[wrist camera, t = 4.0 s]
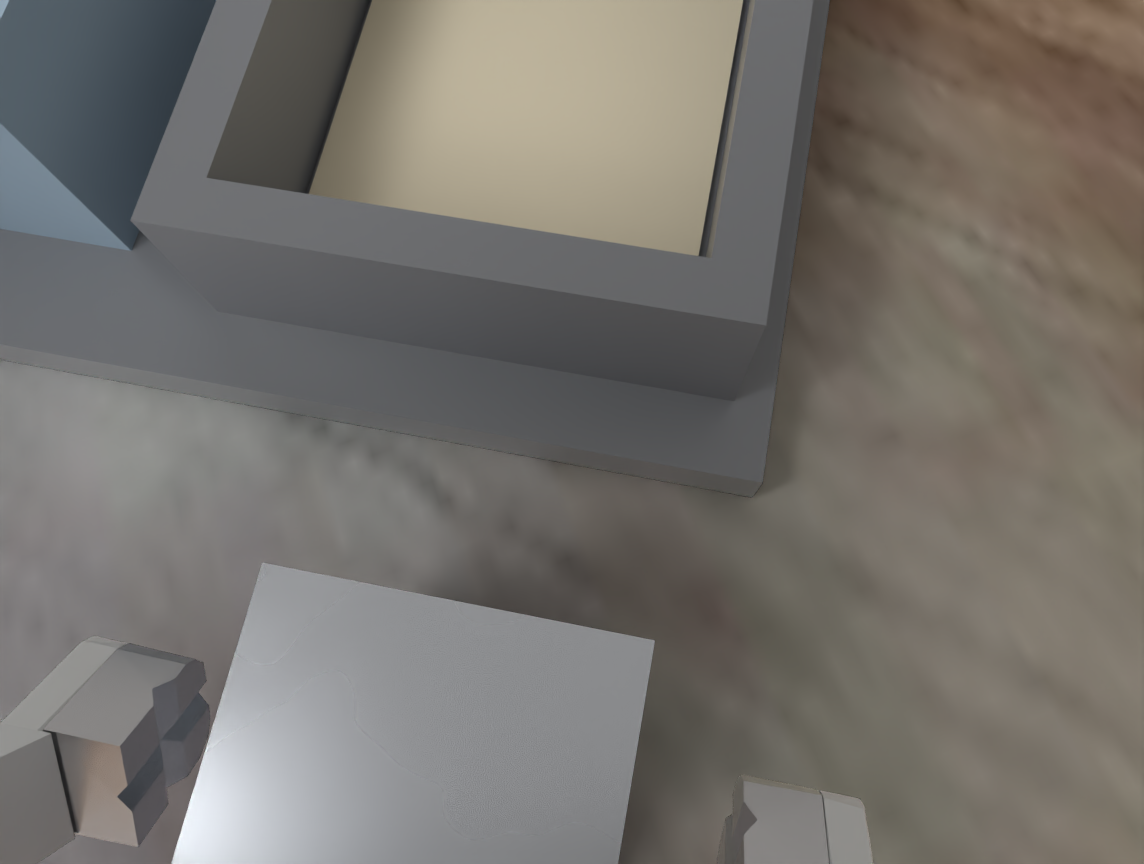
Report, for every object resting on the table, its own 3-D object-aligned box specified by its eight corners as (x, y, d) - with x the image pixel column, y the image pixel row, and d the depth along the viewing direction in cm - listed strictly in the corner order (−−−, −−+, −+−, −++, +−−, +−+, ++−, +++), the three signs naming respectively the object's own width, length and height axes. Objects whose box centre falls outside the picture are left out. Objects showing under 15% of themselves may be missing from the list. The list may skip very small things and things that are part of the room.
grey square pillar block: (341, 875, 16) (127, 1010, 9) (404, 624, 17) (262, 561, 10) (587, 932, 15) (574, 1123, 8) (632, 670, 17) (654, 640, 10)
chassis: (-156, 331, 19) (-488, 165, 14) (72, -146, 23) (-107, -434, 18) (751, 497, 18) (827, 390, 12) (830, -50, 22) (915, -336, 16)
